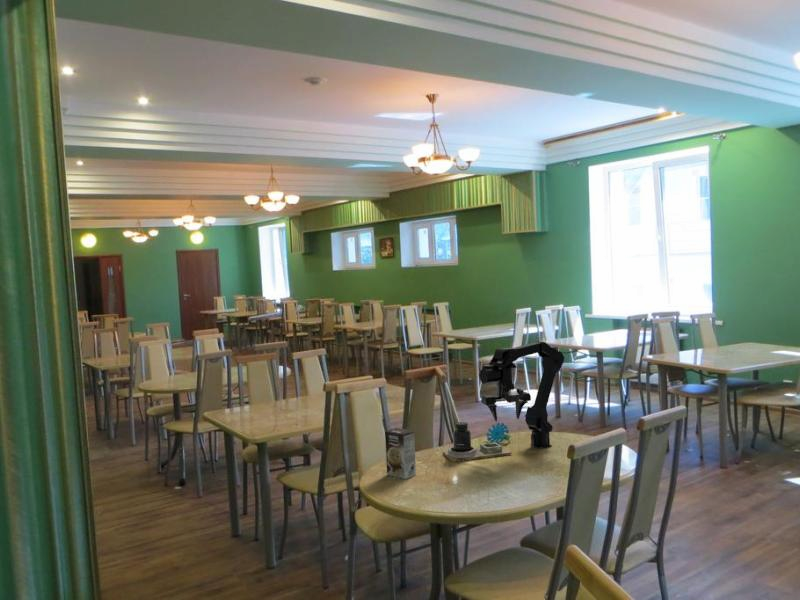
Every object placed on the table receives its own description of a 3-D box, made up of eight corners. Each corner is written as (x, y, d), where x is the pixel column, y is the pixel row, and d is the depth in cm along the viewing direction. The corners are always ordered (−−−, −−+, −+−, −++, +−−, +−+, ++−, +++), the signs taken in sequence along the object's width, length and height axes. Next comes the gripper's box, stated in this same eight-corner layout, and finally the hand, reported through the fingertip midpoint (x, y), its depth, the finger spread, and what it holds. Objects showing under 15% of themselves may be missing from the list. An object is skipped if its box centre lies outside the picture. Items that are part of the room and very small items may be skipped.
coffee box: (386, 475, 239) (383, 431, 239) (398, 470, 244) (396, 427, 243) (404, 479, 233) (402, 434, 232) (416, 474, 238) (414, 430, 237)
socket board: (499, 447, 268) (499, 440, 268) (511, 454, 257) (511, 447, 257) (443, 454, 262) (442, 446, 262) (453, 462, 251) (452, 454, 251)
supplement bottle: (457, 457, 254) (456, 426, 254) (451, 452, 261) (449, 422, 260) (474, 454, 256) (472, 424, 256) (467, 450, 263) (466, 420, 262)
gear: (481, 437, 279) (493, 418, 282) (487, 445, 282) (500, 426, 285) (500, 445, 270) (513, 426, 274) (507, 453, 274) (519, 433, 277)
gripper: (490, 385, 249) (492, 427, 249) (536, 381, 253) (538, 421, 254) (479, 381, 259) (481, 421, 260) (523, 377, 264) (525, 416, 265)
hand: (506, 420), depth 259 cm, fingers open, 9 cm apart
